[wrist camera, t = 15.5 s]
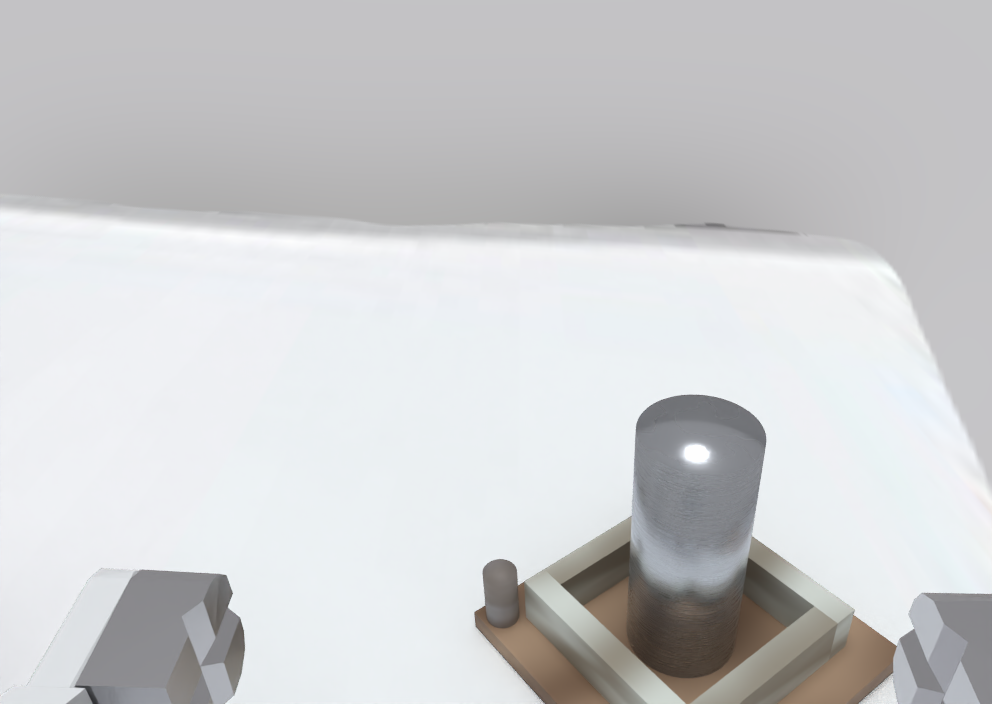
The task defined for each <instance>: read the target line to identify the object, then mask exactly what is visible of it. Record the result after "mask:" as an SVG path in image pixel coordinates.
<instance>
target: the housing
mask: <svg viewBox="0 0 992 704" xmlns="http://www.w3.org/2000/svg"><path fill="white" fill-rule="evenodd" d="M631 521H632V516H631V517H629V518H627V519H626V520H624V521H623V522H621V523H619V524H618V525H616V526H614V527H613V528H611V529H609V530H608V531H606V532H605V533H603V534H601V535H600V536H598V537H596V538H595V539H593V540H591V541H590V542H588V543H587V544H585V545H583V546H582V547H580V548H578V549H577V550H575V551H573V552H572V553H570V554H568V555H567V556H565V557H564V558H562V559H560V560H559V561H557V562H555V563H554V564H552V565H550V566H549V567H547V568H546V569H544V570H542V571H541V572H539V573H537V574H536V575H534V576H532V577H531V578H529V579H528V580H526V581H524V582H523V583H522V584H520V585H518V583H517V569H516V567H515V565H514V564H513V563H512V562H510V561H508V560H503V559H498V560H493V561H491V562H489V563H488V564H487V565H486V566H485V567H484V569H483V583H484V594H485V605H486V606H484V607H482V608H481V609H479V610H477V611H476V612H474V613H475V623H476V627H477V628H478V629H479V630H480V631H481V632H482V633H483V634H484V636H485V637H486V638H487V639H488V640H489V641H490V642H491V643H492V645H493V646H494V647H495V648H496V649H497V650H498V651H499V652H500V654H501V655H502V656H503V657H504V658H505V659H506V660H507V661H508V662H509V664H510V665H511V666H512V667H513V668H514V669H515V670H516V671H517V673H518V674H519V675H520V676H521V677H522V678H523V679H524V680H525V682H526V683H527V684H528V685H529V686H530V687H531V688H532V689H533V690H534V692H535V693H536V694H537V695H538V696H539V697H540V698H541V699H542V701H543V702H544V703H545V704H858V703H859V702H860V701H861V700H862V699H863V698H865V697H866V696H867V695H868V694H869V693H870V692H871V691H872V690H873V689H875V688H876V687H877V686H878V685H879V684H880V683H881V682H882V681H883V680H885V679H886V678H887V677H888V676H889V675H890V674H891V673H892V672H893V657H894V654H895V651H896V648H897V646H896V645H894V644H893V643H892V642H890V641H889V640H887V639H886V638H885V637H883V636H882V635H880V634H879V633H878V632H876V631H875V630H874V629H872V628H871V627H869V626H868V625H867V624H865V623H864V622H862V621H861V620H860V619H858V618H857V617H856V616H854V615H853V614H854V611H855V609H853V608H852V607H850V606H849V605H848V604H846V603H845V602H843V601H842V600H841V599H839V598H838V597H836V596H835V595H834V594H832V593H831V592H829V591H828V590H827V589H825V588H824V587H822V586H821V585H820V584H818V583H817V582H815V581H814V580H813V579H811V578H810V577H808V576H807V575H806V574H804V573H803V572H801V571H800V570H799V569H797V568H796V567H794V566H793V565H792V564H790V563H789V562H787V561H786V560H785V559H783V558H782V557H780V556H779V555H778V554H776V553H775V552H773V551H772V550H771V549H769V548H768V547H766V546H765V545H764V544H762V543H761V542H759V541H758V540H757V539H755V538H754V537H751V543H750V549H749V556H748V562H747V569H746V575H745V582H744V588H743V594H742V601H741V607H740V614H739V620H738V627H737V633H736V639H735V646H734V650H733V653H732V655H731V657H730V659H729V660H728V661H727V663H726V664H725V665H724V666H723V667H721V668H720V669H719V670H717V671H716V672H714V673H711V674H709V675H706V676H703V677H697V678H678V677H673V676H669V675H666V674H663V673H660V672H658V671H656V670H654V669H653V668H651V667H650V666H648V665H647V664H645V663H644V662H643V661H642V660H641V659H640V658H639V657H638V656H637V655H636V653H635V652H634V651H633V649H632V647H631V645H630V643H629V641H628V637H627V630H626V625H627V604H628V583H629V563H630V542H631Z"/></svg>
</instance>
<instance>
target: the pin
mask: <svg viewBox="0 0 992 704" xmlns="http://www.w3.org/2000/svg"><path fill="white" fill-rule="evenodd" d="M765 447H766V434H765V431H764V429H763V426H762V425H761V423H760V422H759V421H758V419H757V418H756V417H755V416H754V415H752V414H751V413H750V412H749V411H747V410H746V409H744V408H743V407H741V406H739V405H737V404H735V403H732V402H730V401H727V400H724V399H721V398H717V397H712V396H705V395H681V396H674V397H670V398H666V399H663V400H661V401H658V402H656V403H654V404H653V405H651V406H649V407H648V408H647V409H646V410H645V411H644V412H643V413H642V414H641V416H640V417H639V419H638V421H637V425H636V438H635V459H634V480H633V500H632V521H631V542H630V563H629V583H628V604H627V625H626V630H627V637H628V641H629V643H630V645H631V647H632V649H633V651H634V652H635V653H636V655H637V656H638V657H639V658H640V659H641V660H642V661H643V662H644V663H645V664H647V665H648V666H650V667H651V668H653V669H654V670H656V671H658V672H660V673H663V674H666V675H669V676H673V677H678V678H697V677H703V676H706V675H709V674H711V673H714V672H716V671H717V670H719V669H720V668H721V667H723V666H724V665H725V664H726V663H727V661H728V660H729V659H730V657H731V655H732V653H733V650H734V646H735V639H736V633H737V627H738V620H739V614H740V607H741V601H742V594H743V588H744V582H745V575H746V569H747V562H748V556H749V549H750V543H751V537H752V530H753V524H754V517H755V511H756V505H757V498H758V492H759V485H760V479H761V472H762V466H763V460H764V453H765Z"/></svg>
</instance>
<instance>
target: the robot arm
mask: <svg viewBox="0 0 992 704" xmlns="http://www.w3.org/2000/svg"><path fill="white" fill-rule="evenodd" d="M232 594H233V593H232V590H231V587H230V584H229V581H228V579H227V576H226V575H222V574H209V573H191V572H173V571H155V570H131V569H108V568H101V569H99V570H98V571H97V572H96V573H95V574H93V575H92V576H91V577H90V578H89V579H88V581H87V582H86V584H85V586H84V587H83V589H82V591H81V593H80V594H79V596H78V598H77V599H76V601H75V603H74V605H73V606H72V608H71V610H70V612H69V613H68V615H67V617H66V618H65V620H64V622H63V624H62V625H61V627H60V629H59V630H58V632H57V634H56V636H55V637H54V639H53V641H52V642H51V644H50V646H49V648H48V649H47V651H46V653H45V655H44V656H43V658H42V660H41V661H40V663H39V665H38V667H37V668H36V670H35V672H34V673H33V675H32V677H31V679H30V680H29V682H28V684H27V685H14V686H13V687H11V688H10V689H8V690H7V691H6V692H4V693H3V694H2V695H0V704H225V703H226V702H227V701H228V700H229V699H231V698H232V697H233V696H234V694H235V691H236V688H237V685H238V682H239V679H240V676H241V673H242V666H243V659H244V652H245V642H244V630H243V627H242V623H241V619H240V617H239V616H237V615H236V614H235V613H234V612H232V611H231V610H230V609H228V608H227V607H228V605H229V602H230V599H231V597H232ZM909 617H910V619H911V622H912V624H913V627H914V629H913V630H912V631H910V632H909V633H907V634H906V635H904V636H903V637H901V638H900V639H899V641H898V645H897V648H896V651H895V654H894V657H893V683H894V688H895V693H896V698H897V702H898V704H992V594H955V593H921V594H920V595H919V596H918V597H917V598H915V599H914V601H913V604H912V606H911V609H910V611H909Z"/></svg>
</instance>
